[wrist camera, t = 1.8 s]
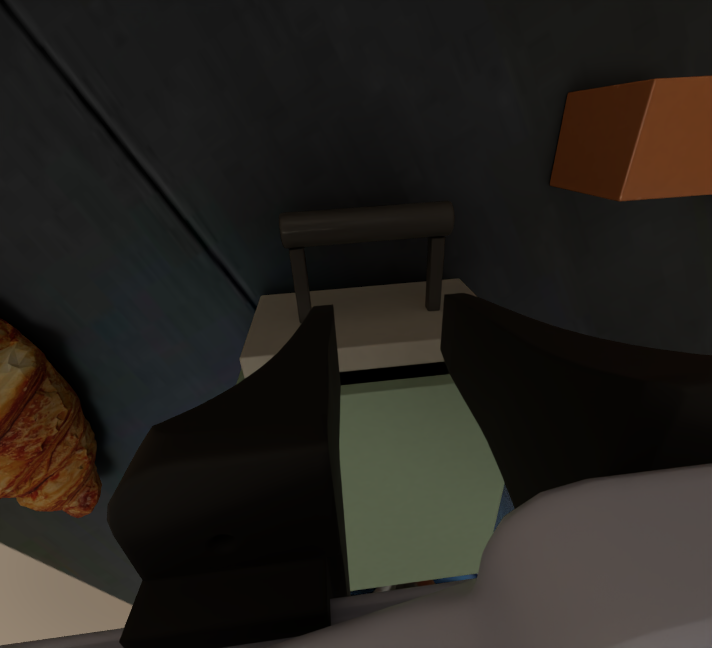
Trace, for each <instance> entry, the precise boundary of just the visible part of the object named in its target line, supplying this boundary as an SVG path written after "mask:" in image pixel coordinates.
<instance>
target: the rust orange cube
mask: <svg viewBox="0 0 712 648" xmlns="http://www.w3.org/2000/svg"><path fill="white" fill-rule="evenodd" d="M550 186H553V187H558V188H562V189H567V190H571V191H575V192H580V193H584V194H589V195H593V196H597V197H602V198H606V199H611V200H615V201H631V200H644V199H658V198H671V197H684V196H698V195H711V194H712V76H696V77H677V78H658V79H650V80H644V81H637V82H631V83H625V84H619V85H612V86H606V87H600V88H593V89H587V90H581V91H575V92H569V93H568V95H567V100H566V105H565V110H564V115H563V120H562V125H561V130H560V135H559V140H558V145H557V150H556V155H555V160H554V165H553V170H552V175H551V180H550Z"/></svg>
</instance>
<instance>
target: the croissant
mask: <svg viewBox="0 0 712 648" xmlns="http://www.w3.org/2000/svg"><path fill="white" fill-rule="evenodd" d="M94 436H95V434H94V432H93V431H92V429H91V426H90V423H89V422H88V421H87V420H86V419H85V416H84V415H83V412H82V408H81V404H80V399H79V398H78V396H77V394H76V393H75V391H74V390H73V389H72V387H71V386H70V385H69V384H68V382H67V381H66V380H65V379H64V378H63V377H62V376H61V375H60V374H59V373H58V372H57V371H56V370H55V368H54V367H53V366H52V365H51V363H49V362H48V360H47V359H46V357H45V354H44V353H43V352H42V351H41V350H40V349H39V348H37V347H36V346H35V345H34V344H33V343H32V342H31V341H30V340H28V339H27V338H26V337H25V336H23V335H22V334H21V333H20V331H19V330H17V329H16V328H14V327H13V326H11V325H10V324H9V323H7V322H6V321H4V320H3V319H1V318H0V499H1V498H2V497H5V498H12V497H16V498H17V501H18V502H19V504H20V505H21V506H26V507H28V508H30V509H33V510H36V511H57V510H63V511H65V512H66V513H68V514H69V515H71V516H74V517H76V518H79V517H82V516H84V515H87V514H89V513H91V512H92V511H93V509H94V507H95V505H96V504H97V502H98V500H99V497H100V494H101V487H102V483H101V480H100V478H99V475H98V473H97V471H96V470H97V467H96V466H95V463H94V462H95V459H96V457H95V456H96V450H97V443H96V440H95V438H94Z"/></svg>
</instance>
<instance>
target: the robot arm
mask: <svg viewBox="0 0 712 648" xmlns="http://www.w3.org/2000/svg"><path fill="white" fill-rule="evenodd" d="M440 350H441V353H442V356H443V359H444V361H445V364H446V367H447V369H448V372H449V374H450V376H451V378H452V380H453V381H454V383H455V385H456V387H457V388H458V390H459V392H460V394H461V396H462V397H463V399H464V401H465V402H466V404H467V406H468V408H469V409H470V411H471V413H472V415H473V416H474V418H475V420H476V422H477V423H478V425H479V427H480V429H481V431H482V432H483V434H484V436H485V438H486V440H487V442H488V445H489V447H490V449H491V452H492V454H493V456H494V458H495V461H496V463H497V465H498V468H499V470H500V472H501V475H502V477H503V480H504V482H505V485H506V487H507V490H508V492H509V495H510V497H511V500H512V502H513V505H514V508H515V509H514V510H513V511H511V512H510V513H508V514H507V515H505V516H504V517H503V519H502V520H501V522H500V524H499V525H498V527H497V528H496V530H495V531H494V533H493V535H492V536H491V538H490V539H489V541H488V542H487V545H486V547H485V549H484V551H483V553H482V557H481V562H480V567H479V571H478V576H477V578H475V579H468V580H461V581H454V582H447V583H440V584H433V585H426V586H418V587H411V588H404V589H397V590H390V591H383V592H376V593H369V594H362V595H355V596H351V594H350V582H349V570H348V557H347V545H346V532H345V520H344V507H343V494H342V481H341V469H340V449H339V440H340V396H341V383H340V372H339V361H338V350H337V339H336V329H335V318H334V307H333V304H332V305H321V306H313V307H312V308H311V310H310V311H309V313H308V314H307V316H306V318H305V319H304V321H303V322H302V324H301V325H300V326H299V328H298V329H297V330H296V332H295V333H294V334H293V336H292V337H291V338H290V339H289V340H288V342H287V343H286V344H285V345H284V346H283V347H282V348H281V349H280V351H279V352H278V353H277V354H276V355H274V356H273V357H272V358H271V359H270V360H269V361H268V362H266V363H265V364H264V365H263V366H262V367H260V368H259V369H258V370H256V371H255V372H254V373H252V374H251V375H249V376H248V377H247V378H245V379H244V380H242V381H241V382H239V383H238V384H237V385H235V386H233V387H232V388H230V389H228V390H227V391H225V392H223V393H222V394H220V395H218V396H216V397H214V398H213V399H211V400H209V401H207V402H205V403H203V404H201V405H199V406H197V407H195V408H193V409H191V410H188V411H186V412H184V413H182V414H180V415H177V416H175V417H173V418H171V419H168V420H166V421H164V422H162V423H159V424H157V425H154V426H152V428H151V429H150V431H149V432H148V434H147V436H146V437H145V439H144V440H143V442H142V443H141V445H140V446H139V448H138V450H137V452H136V454H135V456H134V457H133V459H132V461H131V463H130V465H129V467H128V468H127V470H126V472H125V474H124V476H123V478H122V479H121V481H120V483H119V485H118V487H117V489H116V490H115V492H114V494H113V496H112V498H111V499H110V501H109V503H108V509H107V521H108V524H109V526H110V529H111V531H112V533H113V535H114V537H115V539H116V540H117V542H118V543H119V545H120V546H121V548H122V549H123V551H124V552H125V554H126V556H127V557H128V559H129V560H130V562H131V563H132V565H133V566H134V568H135V569H136V571H137V572H138V574H139V575H140V577H141V578H142V580H143V581H142V583H141V586H140V588H139V591H138V594H137V596H136V599H135V601H134V604H133V606H132V609H131V612H130V614H129V617H128V619H127V622H126V624H125V627H124V628H121V629H114V630H107V631H100V632H93V633H86V634H79V635H72V636H64V637H58V638H50V639H43V640H37V641H30V642H23V643H15V644H8V645H1V646H0V648H712V355H700V354H691V353H683V352H676V351H668V350H661V349H654V348H648V347H642V346H635V345H630V344H625V343H620V342H615V341H610V340H605V339H600V338H596V337H592V336H588V335H584V334H580V333H577V332H573V331H569V330H565V329H562V328H559V327H555V326H552V325H549V324H546V323H543V322H540V321H538V320H535V319H532V318H529V317H526V316H524V315H521V314H519V313H516V312H513V311H511V310H508V309H506V308H504V307H501V306H499V305H496V304H494V303H491V302H489V301H486V300H484V299H481V298H479V297H476V296H473V295H470V294H466V293H455V294H444V304H443V318H442V331H441V344H440Z"/></svg>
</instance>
